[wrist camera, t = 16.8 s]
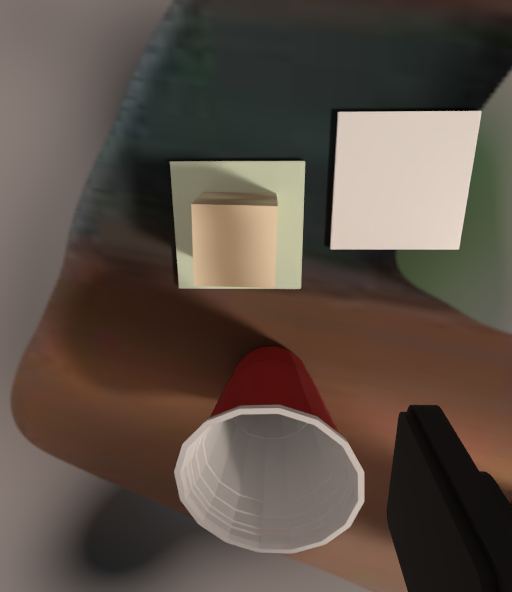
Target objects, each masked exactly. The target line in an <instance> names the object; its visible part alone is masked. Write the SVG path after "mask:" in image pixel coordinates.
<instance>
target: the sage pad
mask: <svg viewBox="0 0 512 592" xmlns="http://www.w3.org/2000/svg"><path fill="white" fill-rule="evenodd" d="M170 171H171V185H172V198H173V212H174V226H175V240H176V253H177V267H178V281H179V288H206V289H301V271H302V241H303V212H304V182H305V161H170ZM202 192H234V193H273V194H277V201H278V221H277V247H276V272H275V288H258V287H223V286H194V275H193V243H192V211H191V204H192V203H193V202H194V201H195V200H196V199H197V198H198V197H199V196H200V194H201V193H202Z"/></svg>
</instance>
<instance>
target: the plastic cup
mask: <svg viewBox="0 0 512 592" xmlns="http://www.w3.org/2000/svg"><path fill="white" fill-rule="evenodd" d="M174 474H175V479H176V483H177V488H178V493H179V497H180V500H181V502H182V503H183V504H184V506H185V507H186V508H187V510H188V511H189V512H190V514H191V515H192V516H193V518H194V519H195V521H196V522H197V523H198V524H199V525H200V526H202V527H203V528H205V529H206V530H208V531H209V532H211V533H212V534H214V535H215V536H217V537H218V538H220V539H221V540H223V541H224V542H226V543H229V544H233V545H236V546H239V547H242V548H246V549H249V550H252V551H255V552H258V553H296V552H300V551H304V550H307V549H311V548H315V547H318V546H322V545H325V544H327V543H328V542H329V541H331V540H332V539H334V538H335V537H336V536H338V535H339V534H341V533H342V532H344V531H345V530H346V529H348V528H349V527H350V526H351V525H352V523H353V521H354V519H355V517H356V516H357V514H358V512H359V510H360V508H361V507H362V505H363V503H364V471H363V469H362V467H361V465H360V463H359V462H358V460H357V458H356V456H355V454H354V453H353V451H352V449H351V447H350V445H349V443H348V442H347V440H346V438H345V437H343V436H342V435H341V434H340V433H339V432H338V430H337V428H336V426H335V424H334V423H333V421H332V419H331V417H330V415H329V412H328V410H327V408H326V406H325V404H324V402H323V400H322V398H321V395H320V393H319V391H318V389H317V387H316V386H315V384H314V382H313V380H312V378H311V377H310V375H309V373H308V371H307V369H306V368H305V366H304V364H303V362H302V361H301V360H300V359H299V358H298V357H297V356H296V355H295V354H293V353H292V352H291V351H289V350H287V349H284V348H280V347H277V346H268V347H260V348H258V349H255V350H253V351H251V352H249V353H248V354H247V355H246V356H245V357H244V358H243V359H242V360H241V361H240V362H239V363H238V365H237V366H236V368H235V371H234V373H233V375H232V377H231V379H230V380H229V381H228V383H227V385H226V387H225V389H224V391H223V392H222V394H221V396H220V398H219V400H218V402H217V404H216V406H215V408H214V410H213V412H212V414H211V416H210V417H209V418H208V419H207V420H206V421H205V422H204V423H203V424H202V425H201V426H200V427H199V428H198V429H197V430H196V431H195V432H194V433H193V434H192V435H191V436H190V437H189V438H188V439H187V440H186V441H185V442H184V443H183V444H182V447H181V450H180V454H179V457H178V460H177V464H176V467H175V470H174Z"/></svg>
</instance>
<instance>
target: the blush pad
mask: <svg viewBox="0 0 512 592" xmlns="http://www.w3.org/2000/svg"><path fill="white" fill-rule="evenodd" d="M481 113H482V111H396V112H337V129H336V147H335V164H334V182H333V200H332V217H331V235H330V249H459V246H460V240H461V233H462V227H463V221H464V215H465V209H466V203H467V197H468V191H469V185H470V179H471V173H472V167H473V161H474V154H475V149H476V143H477V137H478V131H479V124H480V119H481Z"/></svg>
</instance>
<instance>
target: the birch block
mask: <svg viewBox="0 0 512 592" xmlns="http://www.w3.org/2000/svg"><path fill="white" fill-rule="evenodd" d="M191 211H192V243H193V275H194V286H223V287H258V288H275V272H276V247H277V221H278V201H277V194H273V193H234V192H202V193H201V194H200V196H199V197H198V198H197V199H196V200H195V201H194V202H193V203H192V204H191Z"/></svg>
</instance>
